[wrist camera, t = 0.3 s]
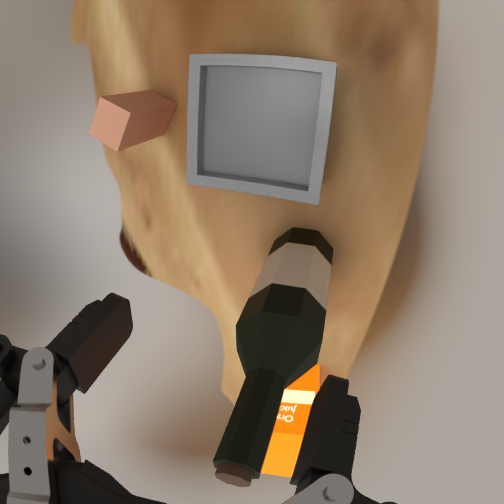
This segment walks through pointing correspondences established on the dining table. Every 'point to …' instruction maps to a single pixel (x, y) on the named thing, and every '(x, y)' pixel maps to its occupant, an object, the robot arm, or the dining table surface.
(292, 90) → the grey square tray
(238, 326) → the wine bottle
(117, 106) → the terracotta block
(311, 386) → the orange juice
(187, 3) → the dining table surface
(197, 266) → the dining table surface
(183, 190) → the dining table surface
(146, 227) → the dining table surface
